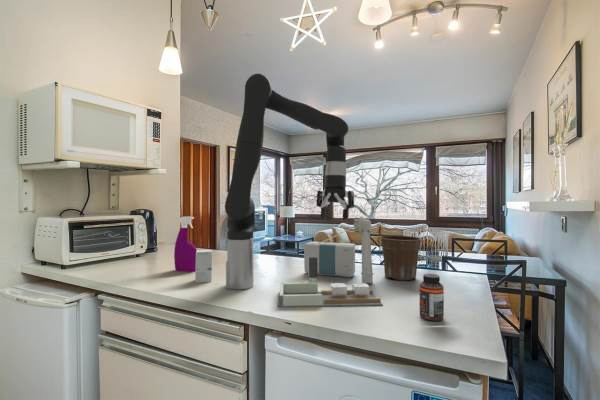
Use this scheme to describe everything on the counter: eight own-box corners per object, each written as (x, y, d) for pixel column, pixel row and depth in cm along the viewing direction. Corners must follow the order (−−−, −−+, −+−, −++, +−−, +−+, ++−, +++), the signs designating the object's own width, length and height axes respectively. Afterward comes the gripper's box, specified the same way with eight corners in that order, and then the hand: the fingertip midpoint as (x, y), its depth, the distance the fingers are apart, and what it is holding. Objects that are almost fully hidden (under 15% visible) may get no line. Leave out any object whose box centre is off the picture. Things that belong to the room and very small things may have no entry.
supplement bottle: (415, 313, 86) (415, 272, 86) (436, 313, 87) (436, 272, 87) (426, 322, 80) (425, 278, 80) (448, 321, 81) (448, 277, 81)
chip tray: (279, 306, 92) (279, 295, 92) (280, 292, 106) (280, 283, 106) (322, 305, 92) (322, 295, 92) (317, 291, 106) (317, 282, 106)
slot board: (277, 307, 92) (277, 302, 92) (278, 293, 106) (278, 289, 106) (382, 305, 93) (382, 300, 93) (370, 291, 107) (370, 287, 107)
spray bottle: (177, 271, 139) (177, 216, 139) (198, 272, 136) (198, 216, 136) (172, 272, 136) (172, 216, 137) (194, 274, 133) (194, 216, 134)
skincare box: (195, 284, 117) (194, 252, 117) (196, 281, 122) (196, 250, 122) (212, 283, 119) (212, 251, 119) (212, 280, 123) (212, 249, 123)
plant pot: (412, 272, 136) (412, 235, 136) (429, 282, 120) (428, 239, 120) (375, 272, 136) (375, 235, 136) (386, 282, 119) (386, 240, 119)
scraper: (309, 289, 110) (309, 258, 110) (308, 285, 116) (307, 255, 116) (317, 289, 110) (317, 258, 110) (316, 285, 116) (316, 255, 116)
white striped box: (303, 274, 133) (303, 227, 133) (310, 270, 140) (310, 225, 140) (352, 279, 125) (352, 228, 125) (356, 274, 132) (356, 227, 132)
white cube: (332, 300, 97) (332, 287, 97) (330, 295, 102) (330, 283, 102) (346, 299, 97) (346, 286, 97) (344, 295, 102) (344, 283, 102)
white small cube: (354, 299, 97) (354, 286, 97) (351, 295, 102) (351, 282, 102) (369, 299, 98) (369, 286, 98) (365, 295, 102) (365, 282, 102)
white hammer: (371, 285, 115) (370, 217, 115) (353, 283, 118) (353, 216, 118) (374, 282, 120) (374, 216, 120) (357, 280, 123) (357, 216, 123)
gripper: (313, 174, 116) (312, 218, 116) (349, 173, 108) (347, 220, 108) (323, 176, 122) (322, 217, 122) (358, 175, 114) (356, 219, 114)
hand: (334, 219), depth 115 cm, fingers open, 8 cm apart
